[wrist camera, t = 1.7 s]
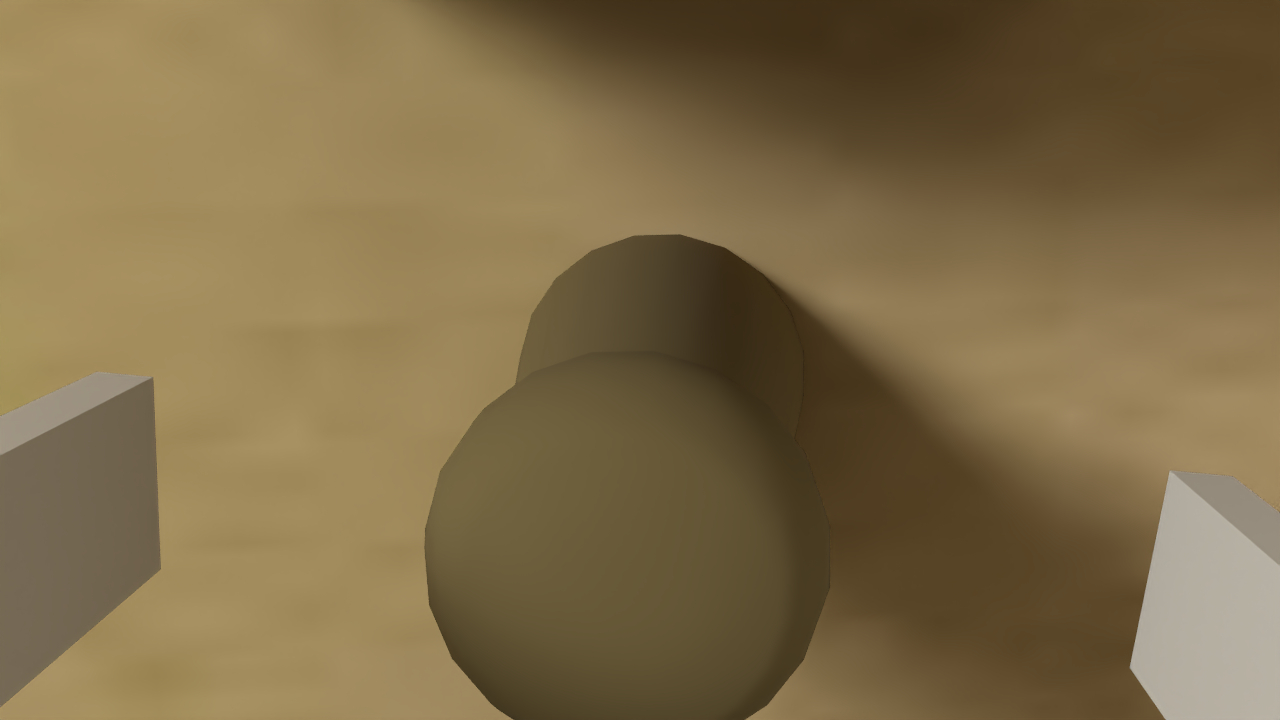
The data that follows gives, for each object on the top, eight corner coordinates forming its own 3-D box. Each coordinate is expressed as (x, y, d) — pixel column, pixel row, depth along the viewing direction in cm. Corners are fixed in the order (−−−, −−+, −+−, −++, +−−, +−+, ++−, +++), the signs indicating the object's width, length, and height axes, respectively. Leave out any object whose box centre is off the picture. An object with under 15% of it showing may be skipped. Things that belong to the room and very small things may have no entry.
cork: (825, 486, 24) (917, 808, 13) (551, 530, 24) (422, 869, 14) (780, 208, 22) (841, 307, 12) (492, 262, 23) (297, 402, 12)
